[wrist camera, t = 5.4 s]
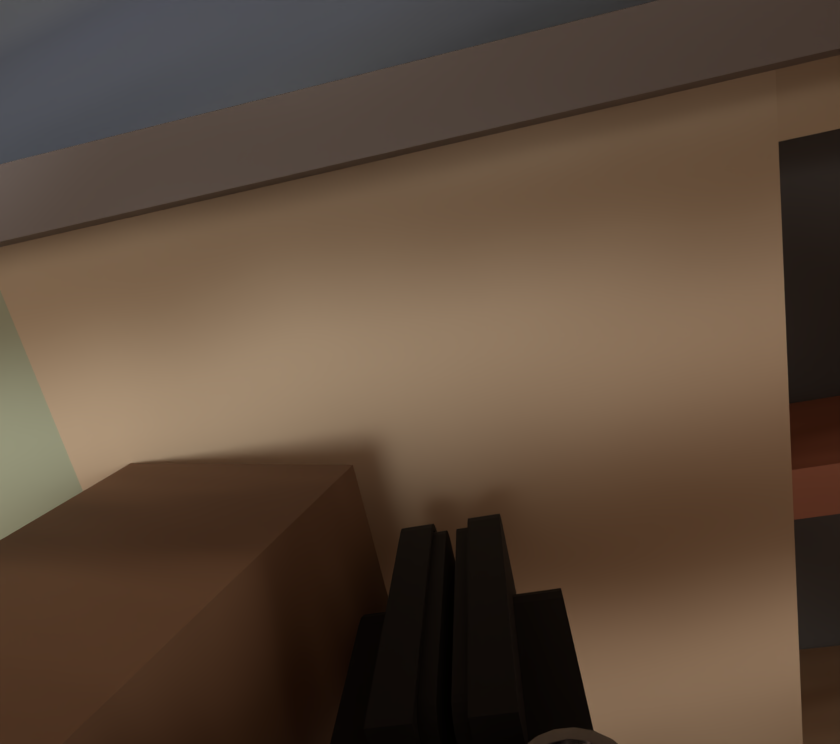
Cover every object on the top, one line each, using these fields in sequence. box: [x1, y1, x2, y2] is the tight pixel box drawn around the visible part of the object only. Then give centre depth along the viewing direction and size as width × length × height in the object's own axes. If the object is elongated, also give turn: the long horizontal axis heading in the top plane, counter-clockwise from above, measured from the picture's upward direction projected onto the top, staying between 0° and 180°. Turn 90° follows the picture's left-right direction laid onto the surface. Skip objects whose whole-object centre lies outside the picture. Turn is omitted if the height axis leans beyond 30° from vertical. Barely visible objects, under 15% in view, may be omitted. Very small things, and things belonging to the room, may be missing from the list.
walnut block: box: [0, 463, 388, 744], centre depth 9 cm, size 5×5×6 cm
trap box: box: [0, 0, 840, 744], centre depth 13 cm, size 16×28×4 cm, turn 102°
